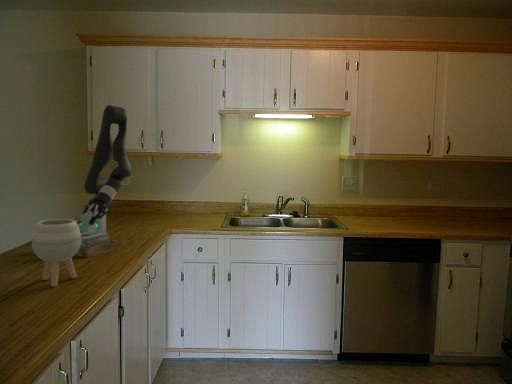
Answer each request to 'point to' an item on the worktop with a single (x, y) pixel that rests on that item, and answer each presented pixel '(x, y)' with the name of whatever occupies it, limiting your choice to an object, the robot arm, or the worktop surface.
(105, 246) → the brown truncated pyramid
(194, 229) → the worktop surface
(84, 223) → the brick
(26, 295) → the worktop surface
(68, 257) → the planter
